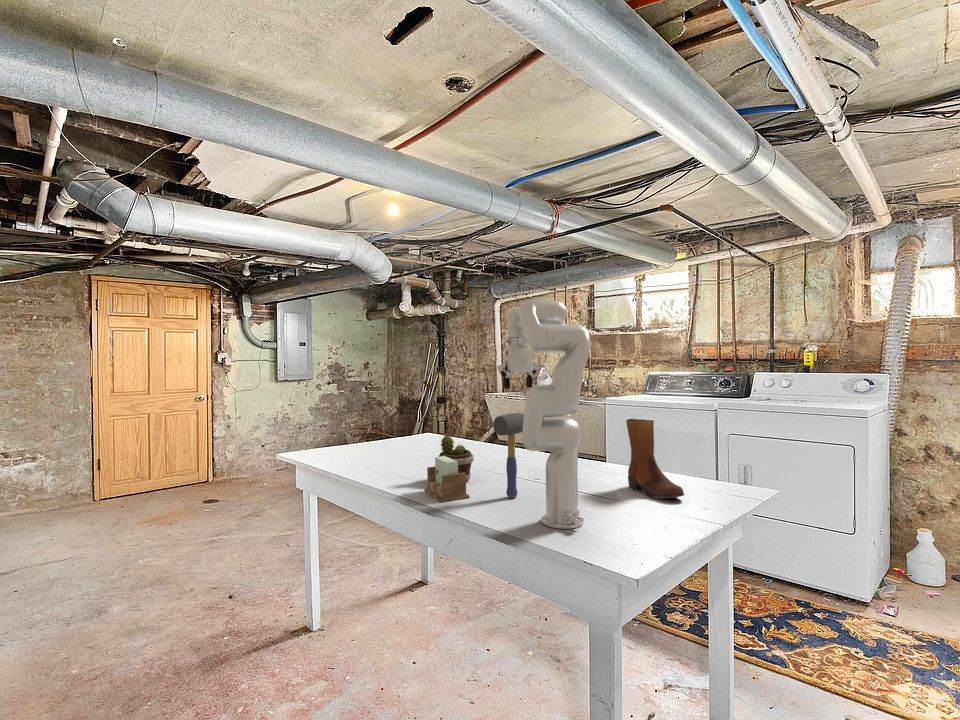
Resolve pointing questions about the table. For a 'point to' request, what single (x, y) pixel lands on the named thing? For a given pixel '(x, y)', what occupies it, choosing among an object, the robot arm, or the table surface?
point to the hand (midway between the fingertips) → (518, 388)
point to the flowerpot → (457, 455)
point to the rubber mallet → (510, 445)
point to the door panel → (444, 468)
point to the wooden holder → (447, 486)
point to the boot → (647, 463)
